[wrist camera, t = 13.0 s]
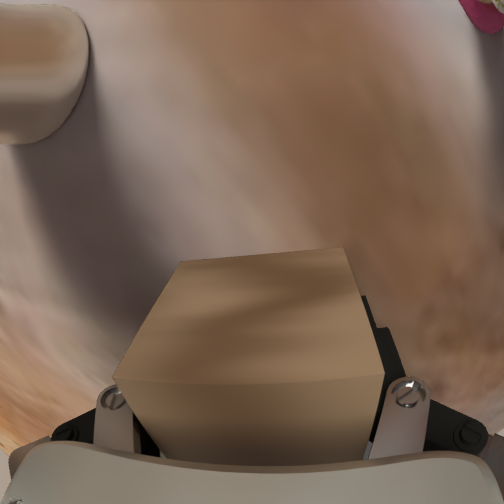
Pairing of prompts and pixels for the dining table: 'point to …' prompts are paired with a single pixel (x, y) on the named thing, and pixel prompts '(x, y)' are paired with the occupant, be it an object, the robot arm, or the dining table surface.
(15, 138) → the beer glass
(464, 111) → the dining table surface
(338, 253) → the walnut block
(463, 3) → the doll family
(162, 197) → the dining table surface
